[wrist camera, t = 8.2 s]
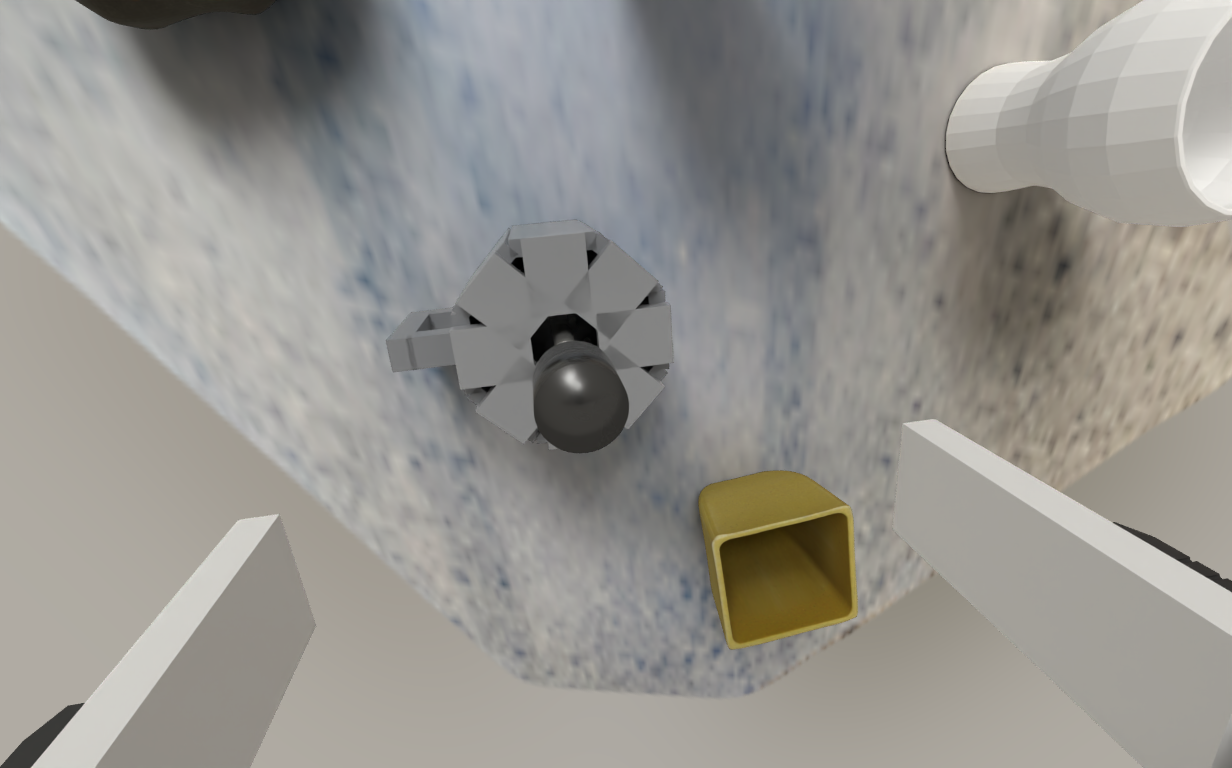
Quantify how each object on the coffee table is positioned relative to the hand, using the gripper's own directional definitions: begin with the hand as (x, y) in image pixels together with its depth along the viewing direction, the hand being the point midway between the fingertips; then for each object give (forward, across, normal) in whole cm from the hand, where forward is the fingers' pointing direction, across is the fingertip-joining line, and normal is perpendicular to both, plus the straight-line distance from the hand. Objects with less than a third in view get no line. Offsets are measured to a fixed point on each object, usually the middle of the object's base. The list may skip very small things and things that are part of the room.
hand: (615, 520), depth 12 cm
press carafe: (+26, -2, -1) cm, 26 cm away
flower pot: (+26, +12, -18) cm, 34 cm away
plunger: (+24, 0, -1) cm, 24 cm away
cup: (+26, +30, +7) cm, 41 cm away
